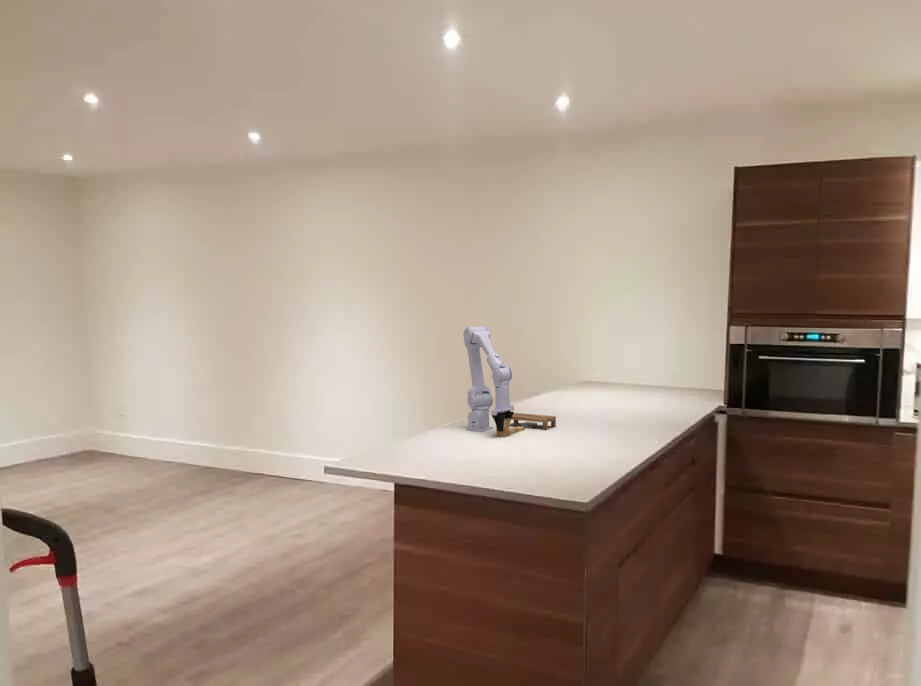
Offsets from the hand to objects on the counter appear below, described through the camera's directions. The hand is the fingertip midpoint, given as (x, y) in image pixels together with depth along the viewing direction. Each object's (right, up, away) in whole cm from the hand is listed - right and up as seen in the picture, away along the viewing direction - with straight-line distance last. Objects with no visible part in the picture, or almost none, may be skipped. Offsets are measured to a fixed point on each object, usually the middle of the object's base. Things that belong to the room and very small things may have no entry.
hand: (503, 430), depth 304 cm
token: (+12, -1, +18) cm, 22 cm away
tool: (+4, -2, +6) cm, 7 cm away
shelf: (+13, -1, +19) cm, 23 cm away
